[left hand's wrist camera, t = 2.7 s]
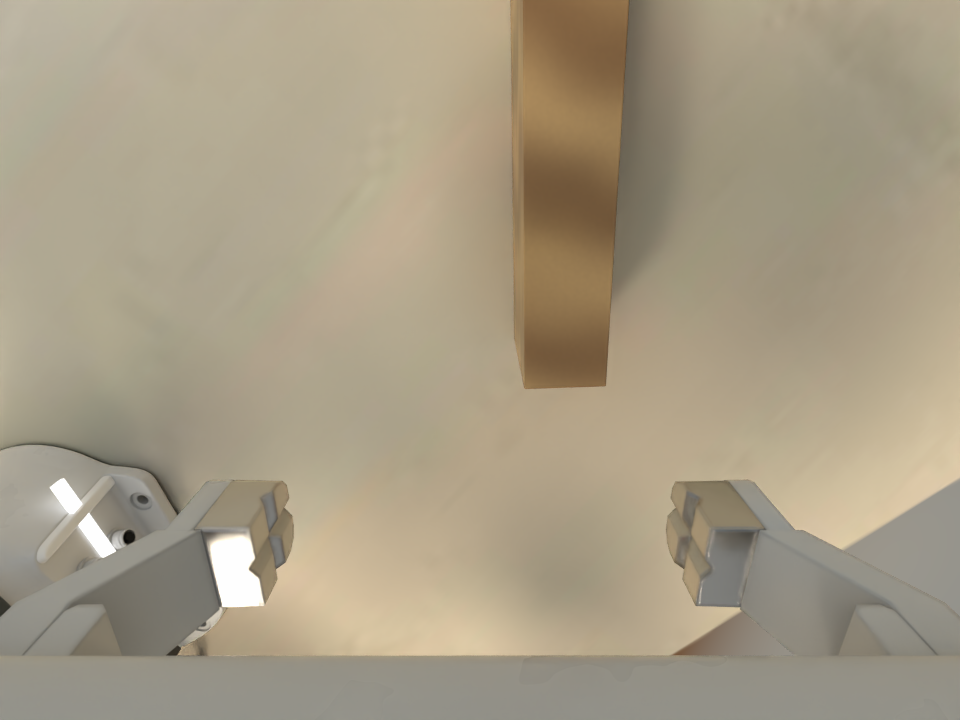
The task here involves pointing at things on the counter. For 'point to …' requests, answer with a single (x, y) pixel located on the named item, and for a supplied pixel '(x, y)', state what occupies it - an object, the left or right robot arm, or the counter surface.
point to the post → (565, 184)
